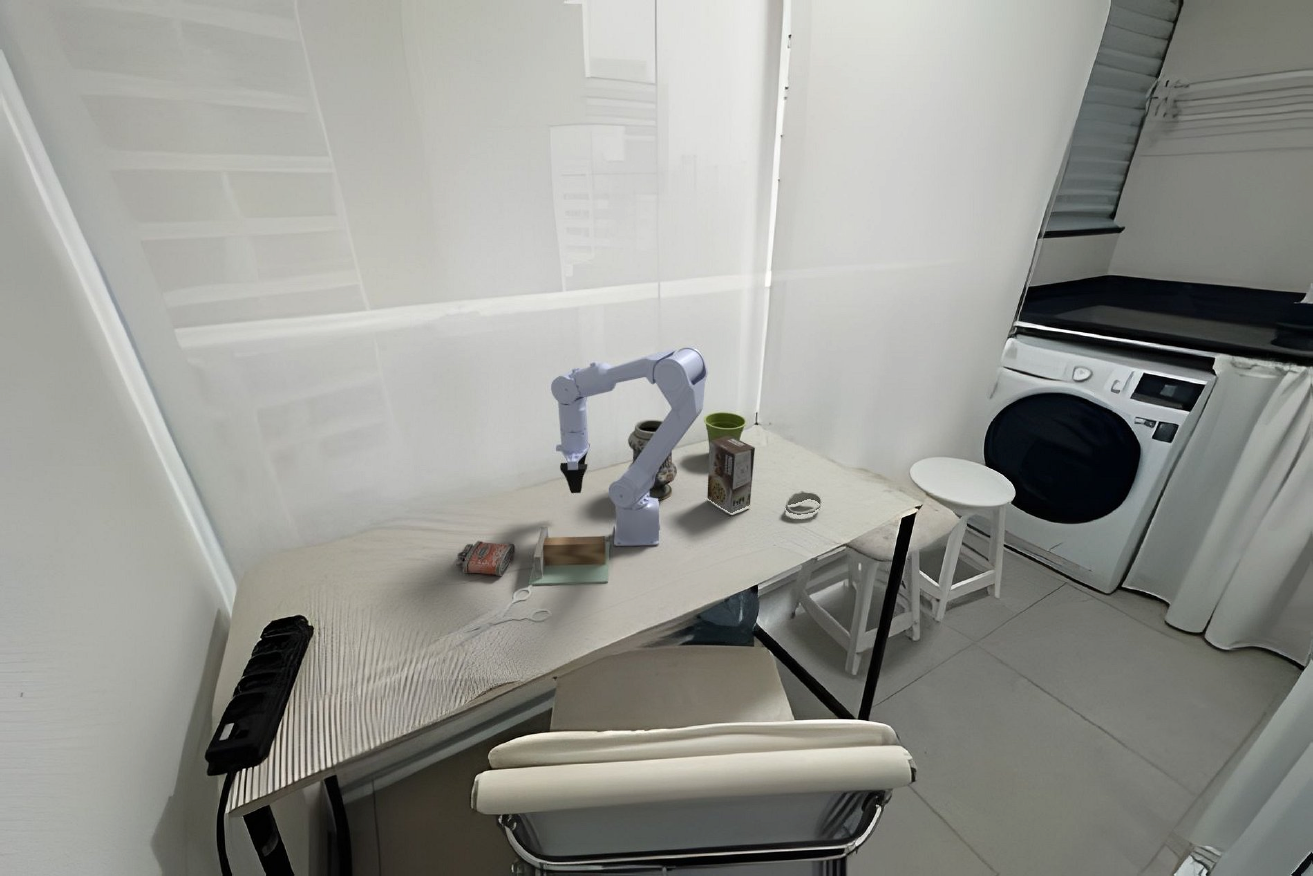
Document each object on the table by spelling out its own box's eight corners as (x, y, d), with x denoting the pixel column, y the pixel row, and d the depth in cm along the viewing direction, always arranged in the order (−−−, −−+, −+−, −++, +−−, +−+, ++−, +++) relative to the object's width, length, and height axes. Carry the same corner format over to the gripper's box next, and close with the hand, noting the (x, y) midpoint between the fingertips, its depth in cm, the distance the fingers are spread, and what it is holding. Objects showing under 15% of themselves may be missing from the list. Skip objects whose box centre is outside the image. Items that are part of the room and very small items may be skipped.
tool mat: (609, 542, 114) (609, 541, 114) (607, 583, 102) (607, 581, 102) (539, 544, 113) (538, 543, 113) (528, 585, 101) (528, 583, 101)
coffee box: (751, 508, 127) (756, 447, 120) (730, 517, 123) (735, 454, 117) (725, 492, 134) (729, 433, 127) (705, 500, 130) (708, 440, 124)
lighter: (498, 566, 102) (448, 562, 103) (501, 580, 103) (452, 576, 104) (513, 539, 109) (466, 536, 110) (515, 552, 110) (469, 549, 111)
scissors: (561, 611, 95) (447, 666, 83) (561, 614, 95) (448, 669, 84) (534, 580, 102) (427, 627, 91) (534, 584, 103) (427, 630, 91)
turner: (606, 545, 112) (605, 525, 110) (604, 576, 103) (603, 555, 101) (543, 547, 112) (541, 527, 110) (536, 578, 103) (533, 557, 101)
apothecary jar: (674, 479, 140) (676, 415, 132) (678, 503, 129) (679, 435, 121) (628, 480, 139) (627, 416, 132) (627, 504, 128) (626, 436, 121)
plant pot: (700, 464, 148) (702, 426, 143) (704, 446, 158) (705, 410, 154) (743, 467, 146) (746, 429, 141) (744, 449, 157) (747, 413, 152)
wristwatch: (809, 502, 130) (811, 484, 128) (826, 515, 124) (829, 497, 122) (778, 510, 126) (780, 492, 124) (794, 524, 121) (797, 505, 119)
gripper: (558, 414, 119) (562, 468, 125) (550, 442, 106) (555, 501, 111) (589, 414, 119) (592, 468, 125) (586, 441, 106) (589, 500, 112)
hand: (577, 483), depth 118 cm, fingers open, 7 cm apart
